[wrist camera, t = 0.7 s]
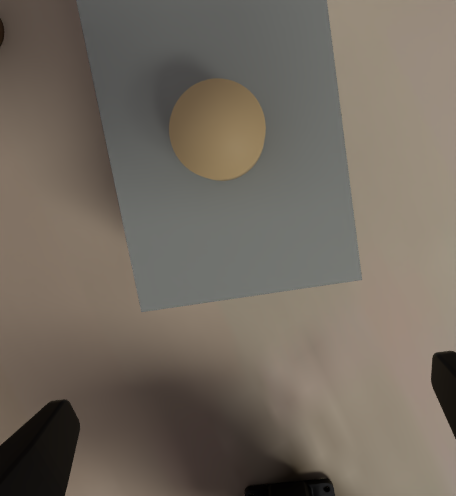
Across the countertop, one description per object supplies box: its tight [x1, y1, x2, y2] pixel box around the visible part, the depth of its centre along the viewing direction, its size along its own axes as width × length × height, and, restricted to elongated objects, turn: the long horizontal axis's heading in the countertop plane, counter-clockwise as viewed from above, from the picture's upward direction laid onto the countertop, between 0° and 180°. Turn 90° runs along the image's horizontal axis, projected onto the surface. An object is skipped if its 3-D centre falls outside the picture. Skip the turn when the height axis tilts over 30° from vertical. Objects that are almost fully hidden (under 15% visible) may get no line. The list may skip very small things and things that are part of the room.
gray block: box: [76, 0, 362, 312], centre depth 19 cm, size 14×10×11 cm
